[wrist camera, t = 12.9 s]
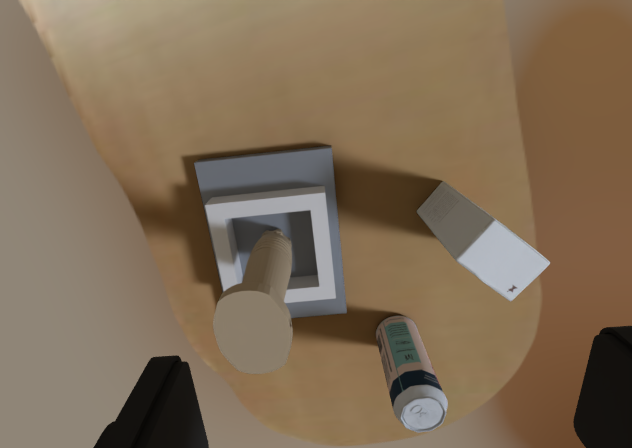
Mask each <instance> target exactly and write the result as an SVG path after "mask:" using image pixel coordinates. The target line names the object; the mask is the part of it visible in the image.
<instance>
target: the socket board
mask: <svg viewBox="0 0 632 448" xmlns="http://www.w3.org/2000/svg"><path fill="white" fill-rule="evenodd" d="M194 165H195V170H196V174H197V179H198V183H199V188H200V192H201V197H202V202H203V206H204V211H205V215H206V220H207V224H208V229H209V233H210V238H211V242H212V247H213V251H214V256H215V260H216V265H217V270H218V274H219V279H220V283H221V288H222V292H224V291H225V290H227V289H228V288H230V287H231V286H234V285H236V284H240V283H242V282H243V277H244V273H245V269H246V265H247V261H248V259H249V256H250V254H251V251H252V250H253V248H254V246H255V244H256V243H257V241H258V240H259V239H260V238H261V237H262V234H263V233H264V232H265V231H266V230H269V231H273V230H276V229H281V230H282V232H283V233H284V235H285V236H286V237H289V238H290V240H291V245H292V247H291V250H292V268H291V275H290V279H289V282H288V286H287V290H286V294H285V298H284V302H285V304H286V306H287V308H288V309H289V312H290V315H291V318H299V317H309V316H320V315H331V314H342V313H347V310H346V299H345V288H344V277H343V267H342V256H341V245H340V234H339V223H338V212H337V202H336V191H335V180H334V169H333V158H332V148H331V146H322V147H313V148H304V149H295V150H285V151H276V152H267V153H258V154H248V155H239V156H230V157H221V158H211V159H202V160H198V161H196V162H195V163H194Z"/></svg>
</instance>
